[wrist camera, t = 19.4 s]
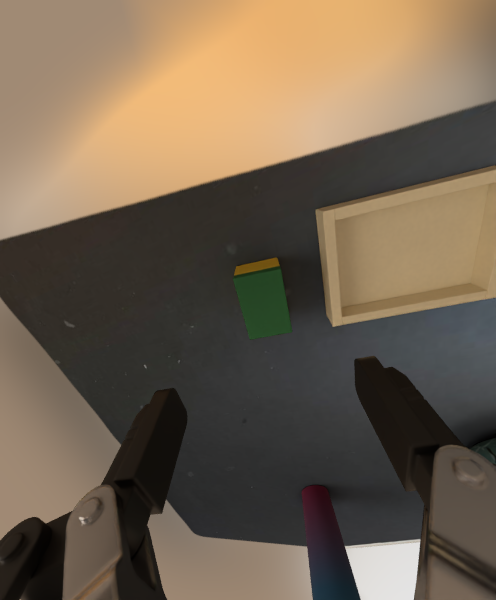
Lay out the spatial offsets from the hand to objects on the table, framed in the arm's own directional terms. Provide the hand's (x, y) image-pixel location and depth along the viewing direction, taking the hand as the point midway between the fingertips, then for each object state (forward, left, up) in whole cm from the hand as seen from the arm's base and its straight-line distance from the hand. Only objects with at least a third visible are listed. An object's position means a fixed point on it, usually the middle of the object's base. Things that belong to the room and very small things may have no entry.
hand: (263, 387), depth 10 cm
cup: (+36, -29, -17) cm, 49 cm away
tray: (+10, +10, -16) cm, 22 cm away
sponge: (+2, -2, -16) cm, 17 cm away
